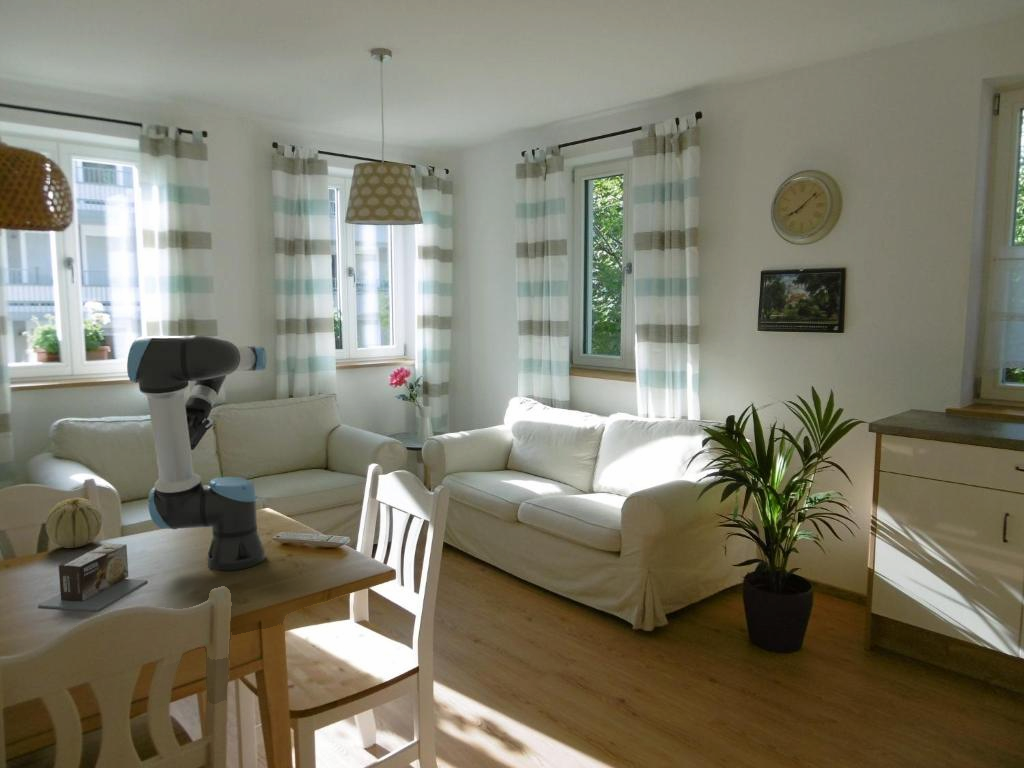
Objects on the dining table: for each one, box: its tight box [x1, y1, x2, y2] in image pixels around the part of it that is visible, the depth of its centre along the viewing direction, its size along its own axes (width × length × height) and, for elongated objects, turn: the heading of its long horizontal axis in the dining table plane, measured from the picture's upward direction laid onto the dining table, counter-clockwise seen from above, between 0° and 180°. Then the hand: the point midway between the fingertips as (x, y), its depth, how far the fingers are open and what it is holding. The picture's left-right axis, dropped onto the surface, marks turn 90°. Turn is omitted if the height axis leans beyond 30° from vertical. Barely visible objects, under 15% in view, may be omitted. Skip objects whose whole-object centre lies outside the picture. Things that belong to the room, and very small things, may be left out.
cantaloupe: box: [45, 497, 103, 549], centre depth 218 cm, size 15×15×15 cm
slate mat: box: [37, 578, 148, 612], centre depth 182 cm, size 16×18×1 cm
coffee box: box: [58, 542, 129, 601], centre depth 184 cm, size 9×6×16 cm
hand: (171, 468), depth 214 cm, fingers closed
